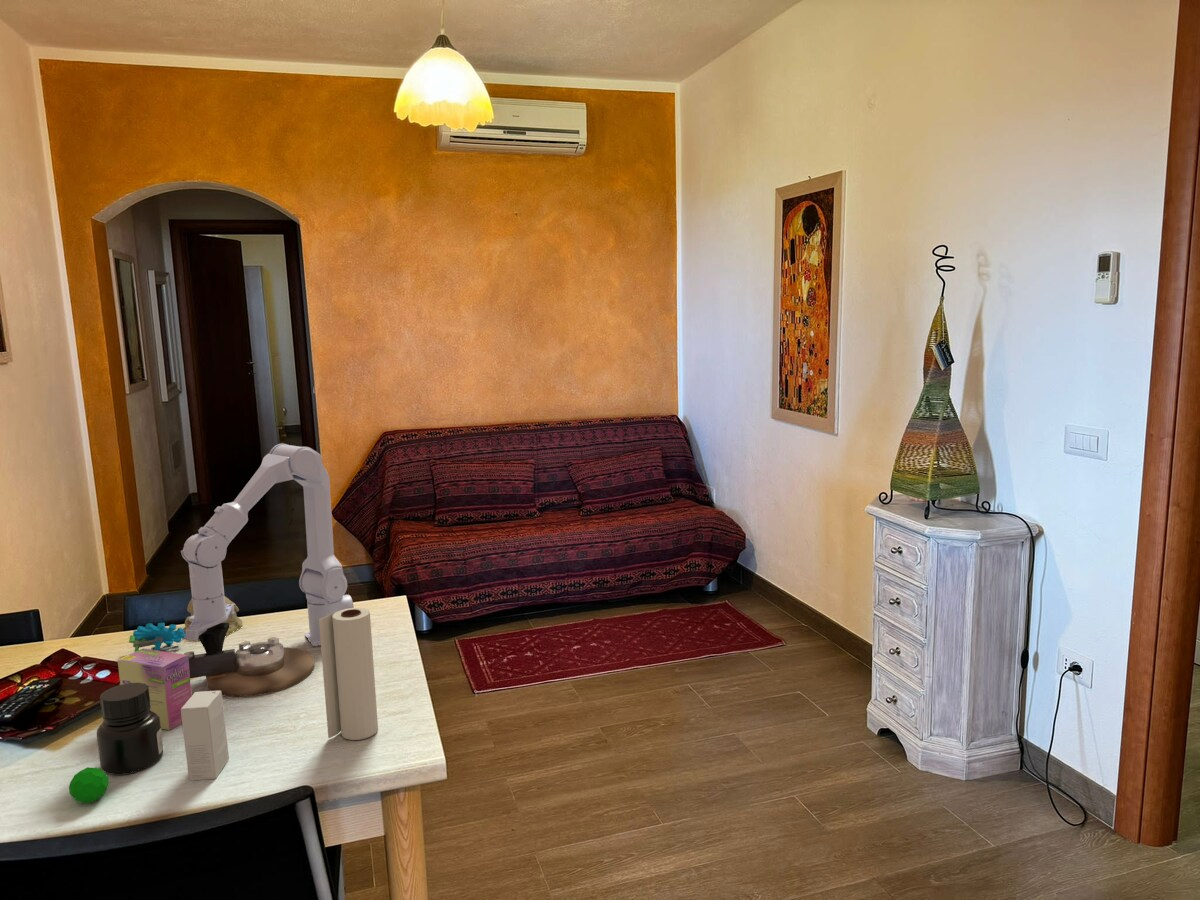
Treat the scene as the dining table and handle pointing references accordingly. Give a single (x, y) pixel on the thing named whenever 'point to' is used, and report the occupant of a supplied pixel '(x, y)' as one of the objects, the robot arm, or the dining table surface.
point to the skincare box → (204, 735)
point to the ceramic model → (232, 620)
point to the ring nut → (239, 659)
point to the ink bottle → (128, 730)
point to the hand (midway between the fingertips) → (215, 661)
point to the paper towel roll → (349, 673)
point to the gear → (156, 636)
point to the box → (160, 681)
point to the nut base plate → (265, 676)
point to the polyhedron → (88, 785)
